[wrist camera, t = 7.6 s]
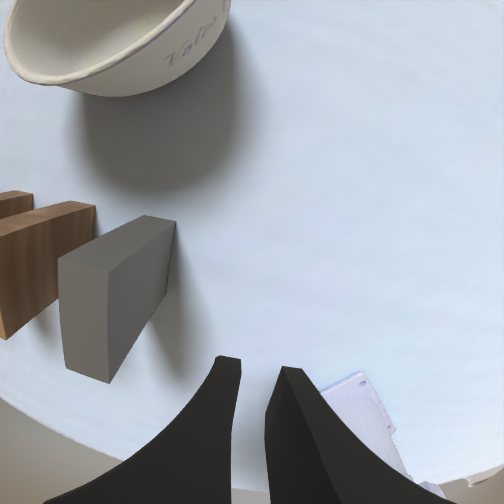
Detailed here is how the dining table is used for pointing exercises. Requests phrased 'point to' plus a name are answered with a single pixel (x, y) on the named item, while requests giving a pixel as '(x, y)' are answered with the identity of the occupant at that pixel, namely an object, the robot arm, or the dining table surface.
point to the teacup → (110, 42)
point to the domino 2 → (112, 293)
